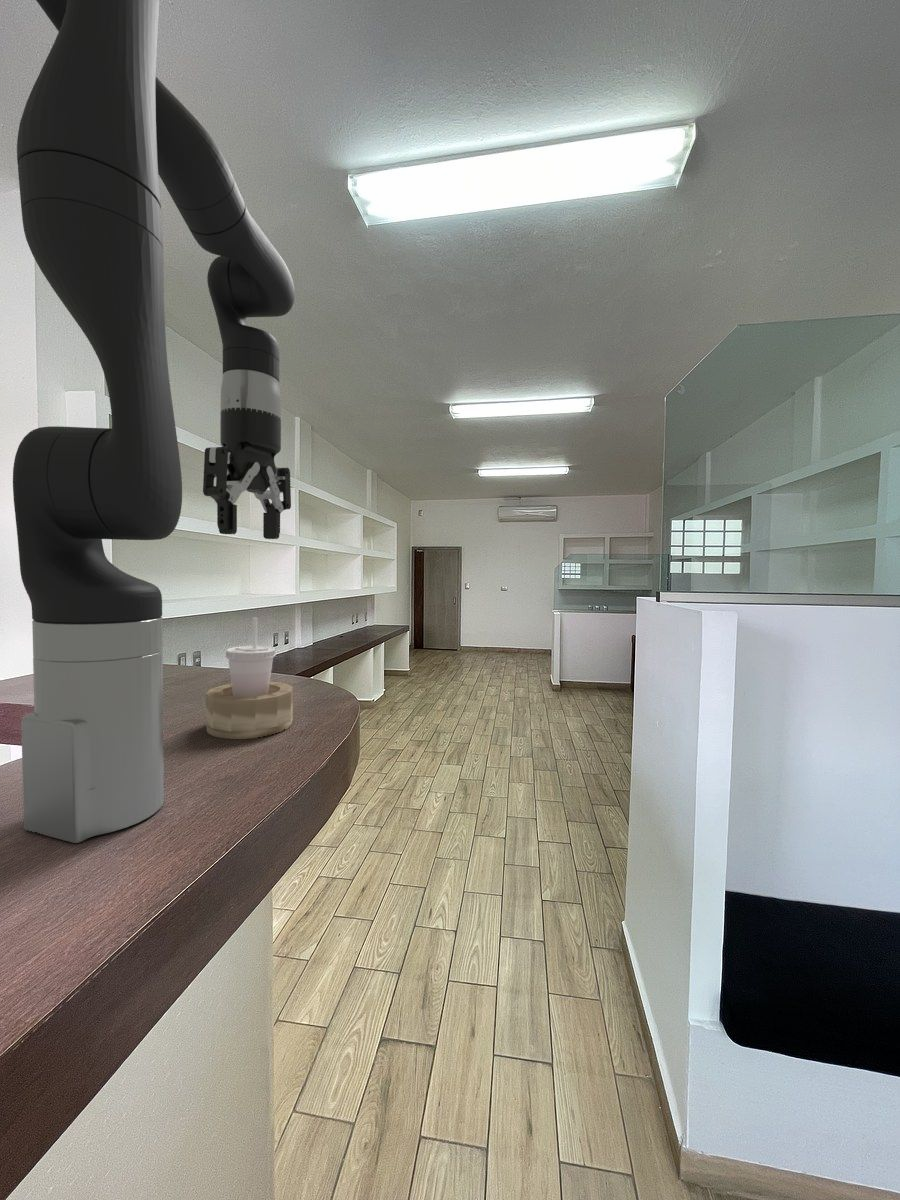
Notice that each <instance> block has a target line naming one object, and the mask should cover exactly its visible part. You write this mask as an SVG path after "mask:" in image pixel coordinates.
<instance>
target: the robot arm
mask: <svg viewBox="0 0 900 1200" xmlns="http://www.w3.org/2000/svg"><path fill="white" fill-rule="evenodd" d="M35 1H36V3H37V4H38V5H39V6H40V8H41V9H42V10H43V12H44V13H45V15H46V16H47V18H48V19H49V20H50V22H51V23H52V25H53V26H54V27H55V29H56V31H57V32H58V33H57V35H56V38H55V40H54V42H53V43H52V47H51V48H50V50H49V52H48V55H47V57H46V59H45V61H44V63H43V66H42V67H41V70H40V72H39V74H38V76H37V78H36V81H34V84H33V86H32V89H31V91H30V93H29V96H28V98H27V100H26V103H25V106H24V109H23V112H22V115H21V118H20V121H19V125H18V126H19V127H18V133H17V138H16V139H17V140H16V142H17V143H16V160H17V161H16V162H17V163H16V164H17V173H18V174H17V175H18V184H19V186H18V187H19V197H20V199H19V200H20V208H21V217H22V219H21V220H22V221H21V222H22V227H23V231H24V237H25V241H26V242H27V246H28V247H29V250H30V252H31V254H32V257H33V258H34V261H35V262H36V265H38V268H39V269H40V271H41V273H42V274H43V276H44V277H45V280H46V281H47V282H48V283H49V285H50V287H51V288H52V290H53V291H54V292H55V294H56V295H57V298H59V300H60V302H62V304H63V306H64V307H65V308H66V310H67V311H68V312H69V314H70V316H71V317H72V318H73V319H74V321H75V322H76V324H77V325H78V326H79V328H80V330H81V331H82V332H83V335H84V336H85V337H86V338H87V340H88V342H89V344H90V345H91V347H92V348H93V351H94V352H95V354H96V356H97V358H98V361H99V363H100V366H101V368H102V372H103V374H104V377H105V383H106V387H107V393H108V398H109V404H110V411H111V412H110V414H111V428H108V427H107V428H105V427H83V426H79V427H78V426H60V425H59V426H58V425H57V426H54V425H52V426H41V427H37V428H35V429H33V430H31V431H29V432H28V433H27V434H26V435H24V437H23V438H22V440H21V442H20V443H19V445H18V446H17V450H16V453H15V456H14V460H13V461H14V463H13V467H12V490H13V491H12V492H13V506H14V507H13V508H14V515H15V517H14V518H15V527H16V535H17V546H18V560H19V571H20V572H19V573H20V576H21V581H22V584H23V586H24V589H25V591H26V594H27V596H28V598H29V601H30V604H31V606H30V607H31V619H32V623H31V624H32V625H31V626H32V657H33V658H32V668H33V669H32V671H33V674H32V675H33V707H34V708H33V712H30V713H27V714H25V715H23V716H22V717H21V723H20V729H21V764H22V766H21V767H22V769H21V770H22V799H23V801H22V802H23V803H22V804H23V805H22V806H23V830H24V829H26V830H25V831H27V830H29V832H31V831H32V833H35V832H38V833H37V834H39V833H40V835H42V834H43V836H47V837H50V838H55V839H59V840H62V841H66V842H70V843H73V844H78V843H81V842H83V841H86V840H88V839H89V838H91V837H95V836H100V835H105V834H109V833H113V832H116V831H120V830H122V829H126V828H128V827H130V826H133V825H137V824H139V823H140V822H142V821H144V820H146V819H148V818H150V817H152V816H153V815H154V814H155V813H157V812H158V811H159V810H160V809H161V808H162V806H163V804H164V802H165V801H164V791H165V790H164V789H165V787H164V785H165V783H164V779H165V778H164V777H165V776H164V681H163V680H164V677H163V676H164V675H163V674H164V670H163V668H164V667H163V664H164V663H163V661H164V660H163V658H164V657H163V649H164V648H163V641H164V639H163V596H162V592H161V589H160V588H159V587H158V586H157V585H155V584H153V582H152V583H151V582H149V581H147V580H144V579H140V578H139V577H135V576H133V575H131V574H128V573H126V572H124V571H123V570H121V569H119V568H118V567H117V566H115V565H114V564H113V563H111V562H110V560H108V558H107V556H106V554H105V550H104V545H103V540H116V541H117V540H122V541H123V540H124V541H125V540H126V541H127V540H128V541H129V540H131V541H156V540H162V539H166V538H168V536H170V535H171V534H172V533H173V532H174V531H175V530H176V527H177V525H178V523H179V521H180V517H181V513H182V512H181V511H182V506H183V481H182V480H183V478H182V468H181V457H180V450H179V443H178V442H179V441H178V437H177V436H178V435H177V428H176V421H175V414H174V407H173V399H172V392H171V383H170V375H169V374H170V373H169V365H168V364H169V363H168V355H167V354H168V352H167V351H168V350H167V339H166V338H167V337H166V319H165V315H166V314H165V292H164V291H165V290H164V289H165V288H164V284H165V282H164V237H163V235H164V234H163V217H162V215H163V213H162V203H161V201H162V200H161V190H160V180H161V182H162V183H163V185H164V186H165V188H166V191H168V194H169V196H170V197H171V200H173V203H174V204H175V206H176V208H177V210H178V212H179V213H180V215H181V217H182V219H183V220H184V222H185V224H186V226H187V228H188V229H189V232H190V233H191V235H192V236H193V238H194V240H195V241H196V243H197V244H198V245H199V247H201V248H202V249H203V250H205V252H208V253H210V254H212V255H215V256H216V258H214V259H213V261H212V262H211V263H210V266H209V267H208V271H207V277H206V278H207V281H206V282H207V287H208V292H209V295H210V299H211V303H212V305H213V308H214V312H215V316H216V319H217V320H216V321H217V325H218V329H219V330H218V331H219V334H220V339H221V343H222V344H221V345H222V380H221V386H220V422H219V423H220V426H219V427H220V431H219V432H220V434H219V435H220V440H219V441H220V445H221V446H214V447H213V446H211V447H206V448H205V449H204V456H203V457H204V462H203V480H202V481H203V482H202V483H203V485H202V492H203V495H204V496H206V497H210V498H211V499H213V500H214V502H215V503H216V505H217V506H216V507H217V510H216V512H217V513H216V514H217V515H216V516H217V517H216V518H217V519H216V520H217V523H216V525H217V528H218V532H219V534H222V535H236V534H237V532H238V531H237V530H238V505H237V504H235V503H237V500H239V497H240V496H241V494H242V493H244V492H245V491H246V492H249V493H252V494H253V495H254V497H255V498H256V499H257V500H259V501H260V503H261V506H262V508H263V510H264V512H263V515H262V516H263V517H262V519H263V521H262V522H263V525H262V526H263V527H262V528H263V532H262V534H263V538H264V539H266V540H278V539H279V538H280V535H281V513H282V512H283V511H286V510H291V508H292V497H291V496H292V493H291V490H292V488H291V470H290V468H289V467H277V466H276V463H275V456H277V454H279V453H280V452H281V450H282V398H281V390H280V388H281V387H280V346H279V342H278V341H277V339H276V338H275V337H274V335H272V333H270V332H268V331H266V330H263V329H260V328H257V327H254V326H249V325H247V322H246V321H247V318H269V317H270V318H277V317H282V316H285V315H287V314H288V313H289V312H290V311H291V310H292V308H293V305H294V302H295V297H296V296H295V295H296V292H295V291H296V290H295V285H294V280H293V277H292V274H291V272H290V270H289V268H288V266H287V264H286V262H285V261H284V259H283V258H282V256H281V254H280V253H279V252H278V251H277V248H275V246H274V245H273V244H272V242H271V241H270V240H269V238H268V237H267V236H266V235H265V233H264V232H263V230H262V229H261V228H260V226H259V225H258V223H257V222H256V221H255V219H254V218H253V217H252V216H251V213H250V212H249V210H248V207H247V205H246V204H245V203H246V202H245V201H244V198H243V196H242V195H241V192H240V189H239V186H238V184H237V183H236V181H235V178H234V176H233V174H232V171H231V169H230V166H229V164H228V163H227V160H226V158H225V156H224V154H223V153H222V151H221V150H220V148H219V146H218V144H217V143H216V142H215V140H214V139H213V137H212V136H211V135H210V133H209V132H208V131H207V130H206V128H205V127H204V126H203V125H202V124H201V123H200V121H199V120H198V119H197V118H196V117H195V116H194V114H192V113H191V112H190V110H189V109H187V107H186V106H184V104H183V103H182V102H181V101H180V100H179V99H178V98H177V97H176V96H175V95H174V94H173V93H172V92H171V91H170V90H169V89H168V88H167V87H166V86H165V85H164V83H162V81H161V80H160V79H159V78H158V77H157V76H156V75H157V58H158V57H157V55H158V54H157V53H158V52H157V51H158V34H159V16H160V14H159V13H160V0H35ZM159 178H160V179H159ZM215 478H216V483H214V482H215ZM281 493H282V500H281V498H280V497H281V496H280V495H281ZM270 501H271V502H270Z"/></svg>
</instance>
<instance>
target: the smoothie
mask: <svg viewBox="0 0 900 1200" xmlns="http://www.w3.org/2000/svg"><path fill="white" fill-rule="evenodd" d="M276 655H277V654H276V648H275V647H273V646H266V645H258V617H256V616H255V617H252V645H243V646H241V645H240V646H235V647H234V646H233V647H229V648H227V649H225V658H226V659H228V667H229V674H230V682H231V683H230V684H232V692H233V697H256V696H263V695H268V691H269V684H270V682H271V677H272V675H271V674H272V669H273V663H274V662H273V661H274V658H275V657H276Z"/></svg>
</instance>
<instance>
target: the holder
mask: <svg viewBox="0 0 900 1200" xmlns="http://www.w3.org/2000/svg"><path fill="white" fill-rule="evenodd" d="M293 697H294V687H293V685H290V684H287V683H284V682H280V681H279V682H277V681H270V684H269V691H268V695H263V696H256V697H233V692H232V684H231V683H227V684H223V685H220V686H216V687H212V688H210V689H209V690H207V692H206V693H205V724H206V733H207V734H208V735H210V736H212V737H215V738H219V739H225V740H249V739H251V740H252V739H259V738H258V737H260V738H264V737H263V736H266V737H268V736H267V735H270V736H272V735H271V734H274V733H277V732H280V731H282V730H284V729H286V728H288V727H289V726H290V725H291V724H292V725H293V723H292V721H293V719H294V718H293V717H294V716H293V715H294V713H293V711H294V706H293V705H294V703H293V702H294V701H293V700H294V698H293ZM274 735H275V734H274Z"/></svg>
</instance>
